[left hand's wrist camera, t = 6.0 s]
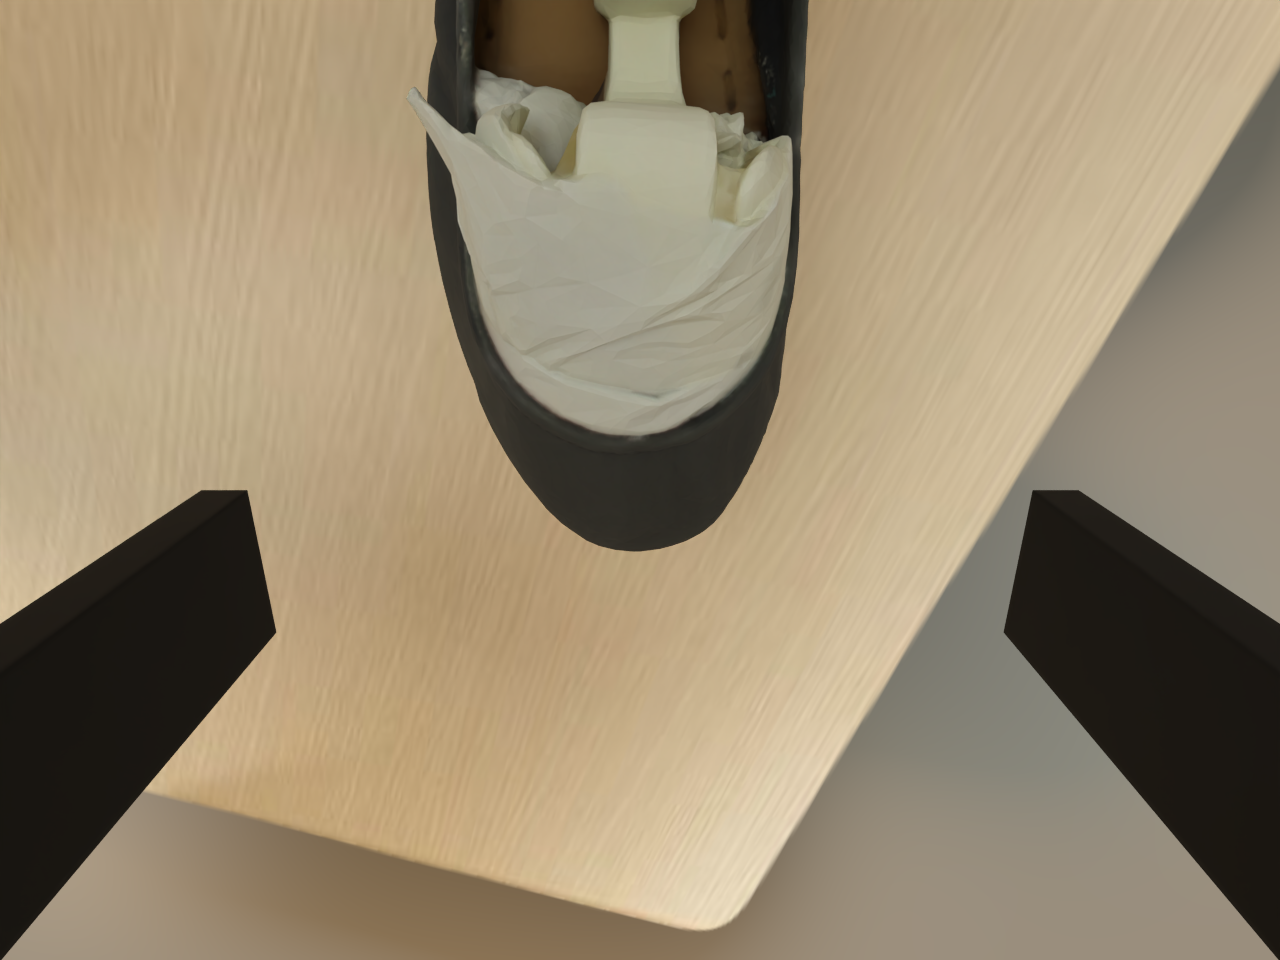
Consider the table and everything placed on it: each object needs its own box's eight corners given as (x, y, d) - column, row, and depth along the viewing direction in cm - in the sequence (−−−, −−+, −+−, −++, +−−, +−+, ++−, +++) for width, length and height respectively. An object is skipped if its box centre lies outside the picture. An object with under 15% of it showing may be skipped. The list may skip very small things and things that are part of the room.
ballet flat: (489, 532, 22) (412, 718, 14) (351, -708, 13) (-58, -2024, 5) (767, 524, 22) (842, 705, 14) (816, -722, 13) (1087, -2059, 5)
